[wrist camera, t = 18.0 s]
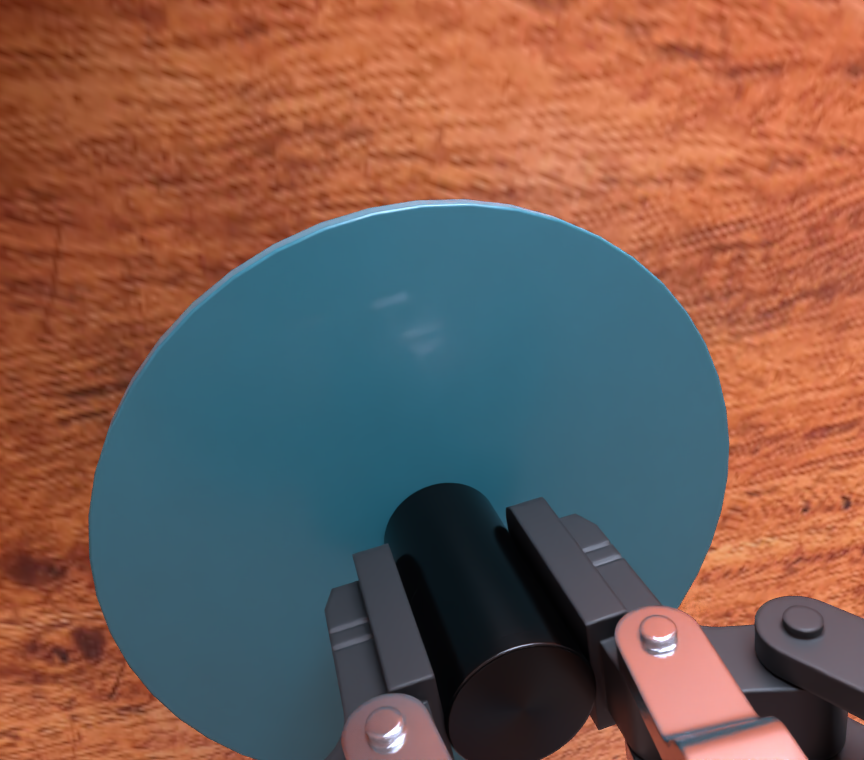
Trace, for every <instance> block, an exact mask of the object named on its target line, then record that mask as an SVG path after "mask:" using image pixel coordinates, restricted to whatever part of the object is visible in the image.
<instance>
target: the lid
mask: <svg viewBox="0 0 864 760" xmlns="http://www.w3.org/2000/svg"><path fill="white" fill-rule="evenodd" d="M728 457H729V436H728V424H727V412H726V406H725V402H724V398H723V393H722V389H721V385H720V381H719V376H718V374H717V371H716V369H715V366H714V364H713V361H712V359H711V356H710V354H709V351H708V349H707V346H706V344H705V342H704V340H703V338H702V337H701V335H700V333H699V331H698V330H697V328H696V326H695V325H694V323H693V321H692V320H691V318H690V316H689V315H688V313H687V311H686V310H685V309H684V308H683V307H682V305H681V304H680V303H679V302H678V300H677V299H676V298H675V297H674V296H673V294H672V293H671V292H670V291H669V290H668V288H667V287H666V286H665V285H664V284H663V283H662V282H661V281H660V280H659V279H658V278H657V277H656V276H654V275H653V274H652V273H651V272H650V271H649V270H647V269H646V268H645V267H644V266H643V265H642V264H641V263H639V262H638V261H637V260H636V259H635V258H634V257H632V256H631V255H629V254H627V253H626V252H624V251H623V250H621V249H619V248H618V247H616V246H615V245H613V244H611V243H610V242H608V241H607V240H605V239H603V238H602V237H600V236H598V235H596V234H594V233H592V232H589V231H587V230H585V229H582V228H580V227H578V226H575V225H573V224H571V223H568V222H566V221H564V220H561V219H559V218H557V217H554V216H552V215H548V214H545V213H541V212H537V211H533V210H529V209H526V208H522V207H518V206H514V205H510V204H502V203H494V202H485V201H476V200H467V199H452V200H416V201H410V202H404V203H398V204H392V205H386V206H379V207H373V208H368V209H365V210H361V211H358V212H355V213H351V214H348V215H345V216H341V217H338V218H335V219H332V220H328V221H325V222H322V223H319V224H317V225H315V226H313V227H310V228H308V229H306V230H304V231H302V232H299V233H297V234H295V235H293V236H290V237H288V238H286V239H284V240H282V241H279V242H277V243H275V244H273V245H272V246H270V247H268V248H267V249H265V250H264V251H262V252H260V253H259V254H257V255H256V256H254V257H252V258H251V259H249V260H248V261H246V262H244V263H243V264H241V265H240V266H238V267H236V268H235V269H233V270H232V271H230V272H229V273H228V274H227V275H225V276H224V277H223V278H222V279H221V280H219V281H218V282H217V283H216V284H215V285H213V286H212V287H211V288H210V289H209V290H207V291H206V292H205V293H204V294H202V295H201V296H200V297H199V298H198V299H196V300H195V301H194V302H193V303H192V304H191V305H190V306H189V307H188V308H187V309H186V310H185V311H184V313H183V314H182V315H181V316H180V317H179V318H178V319H177V320H176V321H175V322H174V323H173V324H172V326H171V327H170V328H169V329H168V330H167V331H166V332H165V333H164V334H163V335H162V336H161V338H160V339H159V340H158V341H157V343H156V344H155V346H154V347H153V349H152V350H151V351H150V353H149V354H148V356H147V357H146V359H145V360H144V362H143V363H142V365H141V366H140V367H139V369H138V370H137V372H136V373H135V375H134V376H133V378H132V379H131V381H130V383H129V385H128V387H127V389H126V391H125V394H124V396H123V398H122V400H121V402H120V404H119V406H118V408H117V410H116V412H115V414H114V416H113V418H112V420H111V423H110V426H109V429H108V432H107V436H106V439H105V442H104V445H103V448H102V452H101V455H100V458H99V461H98V464H97V467H96V471H95V475H94V482H93V488H92V495H91V502H90V509H89V516H88V517H89V559H90V564H91V569H92V575H93V580H94V585H95V591H96V596H97V599H98V601H99V604H100V607H101V610H102V612H103V615H104V618H105V620H106V623H107V626H108V629H109V631H110V633H111V635H112V637H113V639H114V640H115V642H116V644H117V646H118V647H119V649H120V651H121V653H122V654H123V656H124V658H125V660H126V661H127V663H128V665H129V666H130V668H131V669H132V670H133V671H134V673H135V674H136V675H137V676H138V678H139V679H140V680H141V681H142V682H143V684H144V685H145V686H146V687H147V689H148V690H149V691H150V692H151V694H152V695H153V696H155V697H156V698H157V699H158V700H159V701H160V702H161V703H162V704H163V705H164V706H166V707H167V708H168V709H169V710H170V711H171V712H172V713H173V714H174V715H175V716H177V717H178V718H179V719H180V720H182V721H183V722H185V723H186V724H188V725H189V726H191V727H192V728H194V729H195V730H197V731H198V732H200V733H201V734H203V735H204V736H206V737H207V738H209V739H211V740H213V741H215V742H217V743H219V744H221V745H223V746H225V747H227V748H229V749H231V750H233V751H235V752H237V753H239V754H241V755H244V756H247V757H250V758H253V759H256V760H324V759H325V758H326V757H327V756H328V755H329V754H330V753H331V752H332V750H333V749H334V748H335V746H336V744H337V743H338V741H339V739H340V736H341V734H342V730H343V727H344V712H343V707H342V702H341V696H340V691H339V686H338V680H337V675H336V670H335V664H334V659H333V654H332V648H331V643H330V638H329V632H328V627H327V622H326V616H325V611H324V610H325V607H326V604H327V601H328V598H329V595H330V593H331V590H332V589H333V588H336V587H339V586H342V585H345V584H349V583H352V582H355V581H358V580H359V579H358V575H357V572H356V568H355V564H354V560H353V557H352V554H354V553H358V552H361V551H364V550H367V549H371V548H374V547H377V546H381V545H384V544H387V543H388V545H389V547H390V550H391V553H392V556H393V559H394V561H395V564H396V567H397V570H398V573H399V576H400V579H401V581H402V584H403V587H404V590H405V593H406V596H407V599H408V601H409V604H410V607H411V610H412V613H413V616H414V619H415V621H416V624H417V627H418V630H419V633H420V636H421V639H422V642H423V644H424V647H425V650H426V653H427V656H428V659H429V662H430V664H431V667H432V670H433V673H434V676H435V680H436V684H437V688H438V693H439V697H440V701H441V705H442V709H443V714H444V725H445V731H446V734H447V737H448V740H449V742H450V744H451V747H452V751H453V756H454V760H541V759H543V758H545V757H547V756H549V755H551V754H552V753H554V752H555V751H557V750H558V749H560V748H561V747H562V746H564V745H565V744H566V743H567V742H569V741H570V740H571V739H572V738H573V737H574V736H575V735H576V734H577V732H578V731H579V730H580V729H581V728H582V726H583V725H584V723H585V722H586V720H587V719H588V717H589V715H590V713H591V710H592V708H593V705H594V702H595V697H596V679H595V674H594V672H593V669H592V667H591V665H590V664H589V662H588V660H587V659H586V657H585V655H584V654H583V652H582V651H581V649H580V647H579V646H578V644H577V642H576V641H575V639H574V638H573V636H572V634H571V633H570V631H569V629H568V628H567V626H566V625H565V623H564V621H563V620H562V618H561V616H560V615H559V613H558V612H557V610H556V608H555V607H554V605H553V603H552V602H551V600H550V599H549V597H548V595H547V594H546V592H545V590H544V589H543V587H542V586H541V584H540V582H539V581H538V579H537V577H536V576H535V574H534V573H533V571H532V569H531V568H530V566H529V564H528V563H527V561H526V560H525V558H524V556H523V555H522V553H521V551H520V550H519V548H518V547H517V545H516V543H515V542H514V540H513V538H512V537H511V535H510V534H509V532H508V526H507V520H506V508H507V507H509V506H512V505H516V504H519V503H522V502H526V501H529V500H532V499H535V498H539V497H543V498H544V499H545V500H546V501H547V503H548V504H549V505H550V507H551V508H552V509H553V511H554V512H555V513H556V515H557V516H558V517H559V518H562V517H565V516H568V515H571V514H577V515H579V516H581V517H583V518H585V519H587V520H589V521H591V522H593V523H594V524H596V525H597V526H598V527H599V528H600V529H601V531H602V532H603V533H604V534H605V536H606V537H607V538H608V539H609V540H610V543H611V544H613V545H614V547H615V548H616V549H617V550H618V551H619V553H620V554H621V557H622V558H624V559H625V560H626V561H627V562H628V564H629V565H630V566H631V567H632V569H633V570H634V571H635V572H636V573H637V575H638V576H639V577H640V578H641V579H642V581H643V582H644V583H645V584H646V586H647V587H648V588H649V589H650V590H651V592H652V593H653V594H654V595H655V597H656V598H657V599H658V600H659V601H660V603H661V604H662V605H663V606H667V607H672V608H675V609H677V608H678V607H679V606H680V604H681V602H682V601H683V599H684V597H685V595H686V594H687V592H688V590H689V589H690V587H691V585H692V583H693V582H694V580H695V578H696V576H697V575H698V572H699V570H700V568H701V566H702V563H703V561H704V559H705V556H706V554H707V552H708V550H709V547H710V545H711V542H712V539H713V536H714V533H715V530H716V527H717V523H718V520H719V517H720V514H721V510H722V504H723V499H724V494H725V488H726V483H727V476H728Z"/></svg>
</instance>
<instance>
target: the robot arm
mask: <svg viewBox="0 0 864 760" xmlns="http://www.w3.org/2000/svg"><path fill="white" fill-rule="evenodd" d="M506 520H507V526H508V532H509V534H510V535H511V537H512V538H513V540H514V542H515V543H516V545H517V547H518V548H519V550H520V551H521V553H522V555H523V556H524V558H525V560H526V561H527V563H528V564H529V566H530V568H531V569H532V571H533V573H534V574H535V576H536V577H537V579H538V581H539V582H540V584H541V586H542V587H543V589H544V590H545V592H546V594H547V595H548V597H549V599H550V600H551V602H552V603H553V605H554V607H555V608H556V610H557V612H558V613H559V615H560V616H561V618H562V620H563V621H564V623H565V625H566V626H567V628H568V629H569V631H570V633H571V634H572V636H573V638H574V639H575V641H576V642H577V644H578V646H579V647H580V649H581V651H582V652H583V654H584V655H585V657H586V659H587V660H588V662H589V664H590V665H591V667H592V669H593V672H594V674H595V679H596V697H595V702H594V705H593V708H592V710H591V713H590V716H591V718H592V719H593V721H594V723H595V725H596V726H597V728H598V730H601V729H604V728H606V727H609V726H612V725H615V724H617V726H618V728H619V729H620V731H621V733H622V734H623V736H624V738H625V746H626V755H627V760H864V725H862V724H860V723H858V722H856V721H854V720H853V719H851V718H849V717H848V712H849V713H851V714H853V715H855V716H857V717H859V718H861V719H863V720H864V619H863V618H860V617H858V616H856V615H853V614H851V613H848V612H846V611H844V610H841V609H839V608H836V607H834V606H832V605H829V604H827V603H824V602H822V601H819V600H816V599H812V598H808V597H802V596H784V597H779V598H775V599H772V600H770V601H768V602H766V603H765V604H763V605H762V606H761V607H760V608H759V610H758V611H757V613H756V616H755V625H743V626H727V627H708V626H701V625H699V624H698V623H697V622H696V621H695V620H694V619H693V618H692V617H691V616H689V615H688V614H686V613H685V612H683V611H681V610H678V609H675V608H672V607H667V606H663V605H662V604H661V603H660V601H659V600H658V599H657V598H656V597H655V595H654V594H653V593H652V592H651V590H650V589H649V588H648V587H647V586H646V584H645V583H644V582H643V581H642V579H641V578H640V577H639V576H638V575H637V573H636V572H635V571H634V570H633V569H632V567H631V566H630V565H629V564H628V562H627V561H626V560H625V559H624V558H622V557H621V554H620V553H619V551H618V550H617V549H616V548H615V547H614V545H613V544H611V543H610V540H609V539H608V538H607V537H606V536H605V534H604V533H603V532H602V531H601V529H600V528H599V527H598V526H597V525H596V524H594V523H593V522H591V521H589V520H587V519H585V518H583V517H581V516H579V515H577V514H571V515H568V516H565V517H562V518H559V517H558V516H557V515H556V513H555V512H554V511H553V509H552V508H551V507H550V505H549V504H548V503H547V501H546V500H545V499H544V498H543V497H539V498H535V499H532V500H529V501H526V502H522V503H519V504H516V505H512V506H509V507H507V508H506ZM352 557H353V560H354V564H355V568H356V572H357V575H358V579H359V580H358V581H355V582H352V583H349V584H345V585H342V586H339V587H336V588H333V589H332V590H331V593H330V595H329V598H328V601H327V604H326V607H325V610H324V611H325V616H326V622H327V627H328V632H329V638H330V643H331V648H332V654H333V659H334V664H335V670H336V675H337V680H338V686H339V691H340V696H341V702H342V707H343V712H344V727H343V730H342V734H341V736H340V739H339V741H338V743H337V744H336V746H335V748H334V749H333V750H332V752H331V753H330V754H329V755H328V756H327V757H326V758H325V759H324V760H454V756H453V751H452V747H451V744H450V742H449V740H448V737H447V734H446V731H445V725H444V714H443V709H442V705H441V701H440V697H439V693H438V688H437V684H436V680H435V676H434V673H433V670H432V667H431V664H430V662H429V659H428V656H427V653H426V650H425V647H424V644H423V642H422V639H421V636H420V633H419V630H418V627H417V624H416V621H415V619H414V616H413V613H412V610H411V607H410V604H409V601H408V599H407V596H406V593H405V590H404V587H403V584H402V581H401V579H400V576H399V573H398V570H397V567H396V564H395V561H394V559H393V556H392V553H391V550H390V547H389V545H388V543H387V544H384V545H381V546H377V547H374V548H371V549H367V550H364V551H361V552H358V553H354V554H352Z"/></svg>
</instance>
